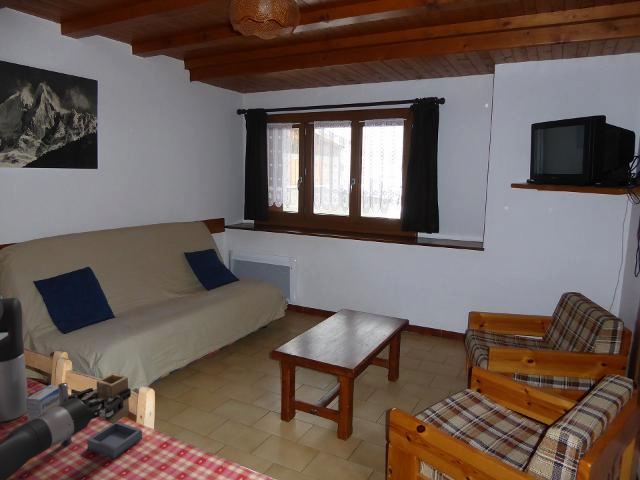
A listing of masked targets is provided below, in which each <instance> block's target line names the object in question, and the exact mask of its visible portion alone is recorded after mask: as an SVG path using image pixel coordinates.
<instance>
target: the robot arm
mask: <svg viewBox="0 0 640 480" xmlns="http://www.w3.org/2000/svg"><path fill="white" fill-rule="evenodd" d="M22 307H23V306H22V303H21V301H20V300H19V298H16V297H9V298H8V297H7V298H0V334H3V333H7V335H6V336H4V337H3V338H1V339H0V422H7V421H12V420H15V419H18V418H19V417H22V416H24V415H25V414H27V404H26V398H28V397H29V394H28V382H27V381H28V380H27V371H26V359H25V358H26V357H25V349H24V348H25V347H24V336H23V335H24V334H23V308H22ZM97 394H98V392H97V388H96V389H94V388H93V387H90V388H86V389H84V390H80V391H79V392H75V393H73V394H70V395H68V400H67V401H66V402H64V403H62V404H60V405H58V406H56V407H54V408H52V409H50V410H48V411H46V412H44V413H42V414H41V415H39V416H38V417H36V418H35V419H33V420H31V421H29V422H28V421H27V422H25V423H24V424H21V425H20V426H18V427H15V428H14V429H13V430H11V431H10V432H9V433H8V435H7V436H6V437H5V441H3V442H1V443H0V480H9V478H11V477H12V476H14V474H15V473H16V472H18V471H19V470H20V469H22V468H23V466H25V465H26V464H27V463H28V462H29V460H31V459H33V458H36V457H37V456H39V455H40V454H42V453H44V452H45V451H47V450H49V449H50V448H53V447H55V446H57V445H59V444H61V443H62V442H63V441H64V440H66V439H68V438H69V437H71V438H72V436H74V435H76V434H78V433H80V432H81V431H83V430H85V429H86V428H87V427H88V425H89V423H91V421H92V420H94V419H97V418H98V417H99V416H105V419H106V420H110V419H111V418H112V417H113V416H115V415H116V414H117V413H118V412H119V411H120V410H121V409H123V401H124V400H126V399H128V398H130V397H131V396H132V390H131V388H129V387H128V388H127V389H125V390H124V391H122V392H120V393H118V394H117V395H114V396H111V397H108V396H105V397H102V398H99V399H98V398H97ZM112 400H114V402H113V403H112V404H111V401H112ZM104 401H105V402H106V407H105V408H104Z"/></svg>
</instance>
